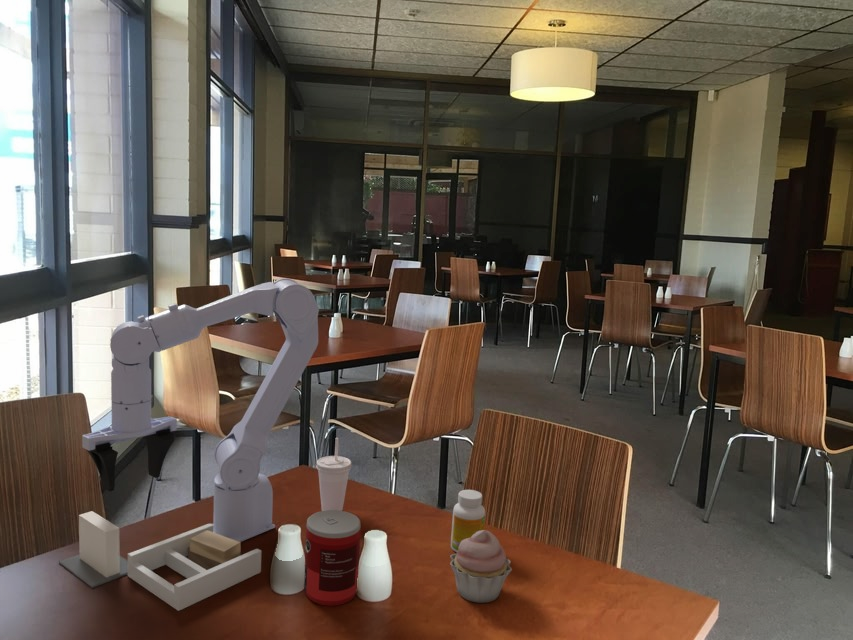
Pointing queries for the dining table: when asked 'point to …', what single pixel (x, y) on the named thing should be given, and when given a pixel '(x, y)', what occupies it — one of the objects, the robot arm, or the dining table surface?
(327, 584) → the canned food
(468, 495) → the supplement bottle
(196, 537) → the offcut top
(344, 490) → the smoothie
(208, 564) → the offcut low
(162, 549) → the rack
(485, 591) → the cupcake
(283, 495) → the dining table surface
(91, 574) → the mat
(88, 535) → the cream rectangular block
